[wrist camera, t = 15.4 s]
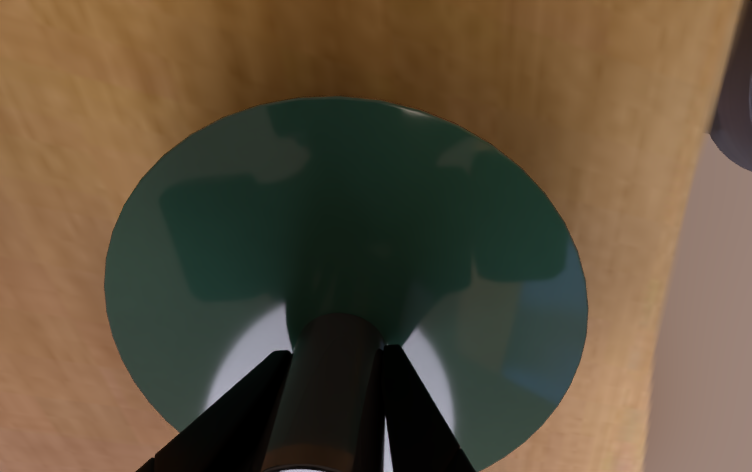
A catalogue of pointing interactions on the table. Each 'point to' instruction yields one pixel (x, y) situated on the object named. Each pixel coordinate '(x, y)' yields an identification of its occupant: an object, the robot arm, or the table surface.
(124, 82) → the table surface
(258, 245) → the lid
